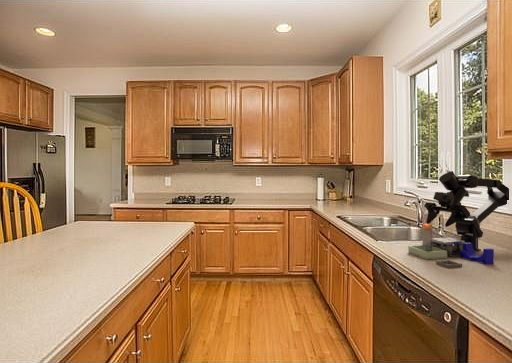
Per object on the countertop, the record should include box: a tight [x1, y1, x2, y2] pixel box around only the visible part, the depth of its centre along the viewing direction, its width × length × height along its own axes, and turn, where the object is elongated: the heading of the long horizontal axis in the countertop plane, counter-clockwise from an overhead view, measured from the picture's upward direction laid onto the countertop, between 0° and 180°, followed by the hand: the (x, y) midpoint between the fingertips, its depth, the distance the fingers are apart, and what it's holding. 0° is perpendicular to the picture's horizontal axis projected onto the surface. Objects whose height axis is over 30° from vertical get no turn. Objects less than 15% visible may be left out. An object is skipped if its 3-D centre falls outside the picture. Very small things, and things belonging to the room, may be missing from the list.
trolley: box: [432, 236, 465, 257], centre depth 145 cm, size 13×12×6 cm
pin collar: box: [435, 259, 463, 269], centre depth 127 cm, size 6×6×1 cm
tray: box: [407, 244, 448, 261], centre depth 142 cm, size 9×12×3 cm
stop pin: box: [421, 223, 433, 252], centre depth 142 cm, size 4×4×12 cm
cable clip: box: [459, 243, 495, 266], centre depth 134 cm, size 12×4×6 cm, turn 8°
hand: (436, 224), depth 144 cm, fingers open, 9 cm apart
